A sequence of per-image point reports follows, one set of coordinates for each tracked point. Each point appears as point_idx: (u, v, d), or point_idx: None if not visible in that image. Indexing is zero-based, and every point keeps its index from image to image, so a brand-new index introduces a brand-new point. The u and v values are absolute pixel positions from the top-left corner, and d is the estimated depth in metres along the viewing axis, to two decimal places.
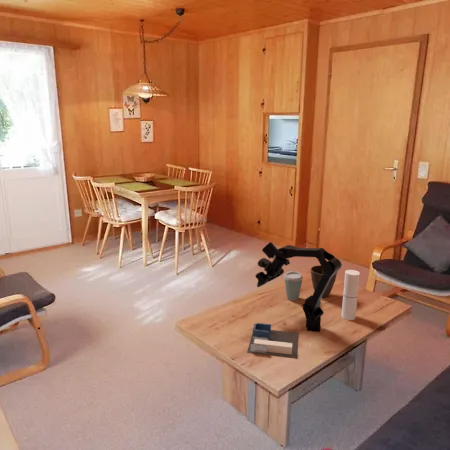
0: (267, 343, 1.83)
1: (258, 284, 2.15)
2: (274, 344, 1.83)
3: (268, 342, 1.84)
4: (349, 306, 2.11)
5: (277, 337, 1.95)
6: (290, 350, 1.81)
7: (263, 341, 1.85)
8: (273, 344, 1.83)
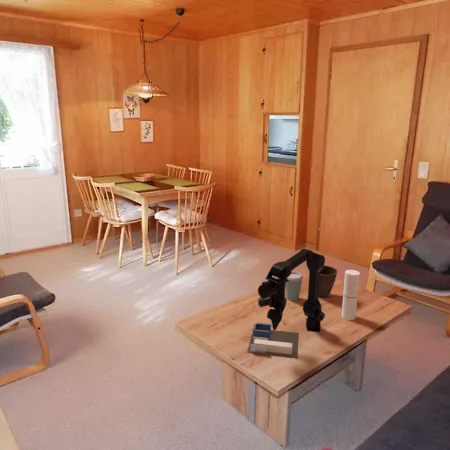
0: (267, 343, 1.83)
1: (274, 326, 1.77)
2: (274, 344, 1.83)
3: (268, 342, 1.84)
4: (349, 306, 2.11)
5: (277, 337, 1.95)
6: (290, 350, 1.81)
7: (263, 341, 1.85)
8: (273, 344, 1.83)
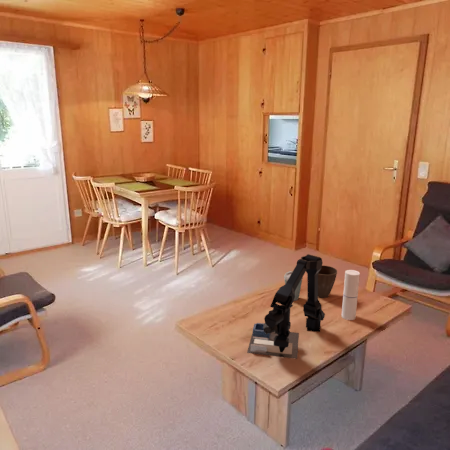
0: (267, 343, 1.83)
1: (281, 349, 1.81)
2: None
3: (268, 342, 1.84)
4: (349, 306, 2.11)
5: None
6: (290, 350, 1.81)
7: (263, 341, 1.85)
8: (273, 344, 1.83)
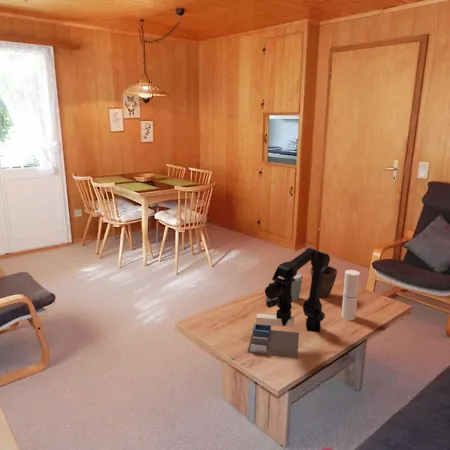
0: (270, 317, 1.86)
1: (283, 322, 1.84)
2: (276, 318, 1.86)
3: (270, 316, 1.87)
4: (349, 306, 2.11)
5: (277, 337, 1.95)
6: (292, 323, 1.84)
7: (265, 315, 1.88)
8: (275, 318, 1.86)
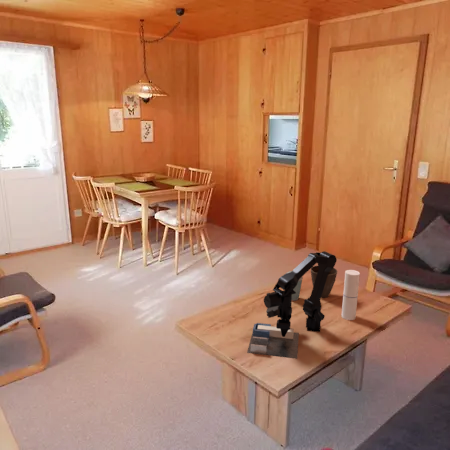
0: (270, 328, 1.96)
1: (283, 333, 1.91)
2: (276, 329, 1.95)
3: (271, 328, 1.96)
4: (349, 306, 2.11)
5: (277, 337, 1.95)
6: (291, 334, 1.93)
7: (266, 327, 1.97)
8: (275, 329, 1.95)
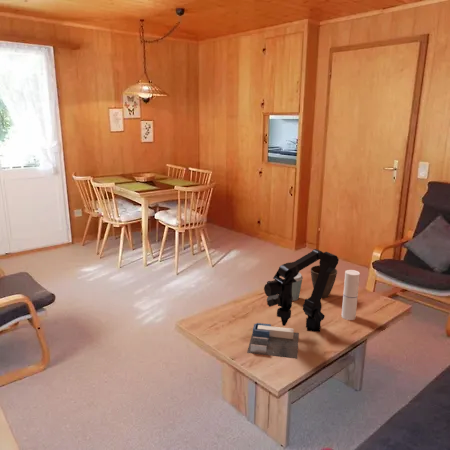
0: (270, 328, 1.96)
1: (283, 322, 1.90)
2: (276, 329, 1.95)
3: (271, 328, 1.96)
4: (349, 306, 2.11)
5: (277, 337, 1.95)
6: (291, 334, 1.93)
7: (266, 327, 1.97)
8: (275, 329, 1.95)
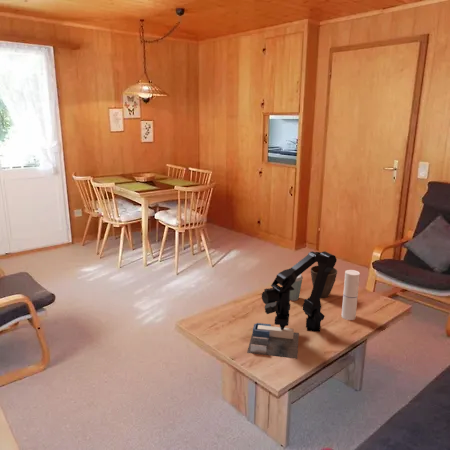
0: (270, 328, 1.96)
1: (281, 326, 1.94)
2: (276, 329, 1.95)
3: (271, 328, 1.96)
4: (349, 306, 2.11)
5: (277, 337, 1.95)
6: (291, 334, 1.93)
7: (266, 327, 1.97)
8: (275, 329, 1.95)
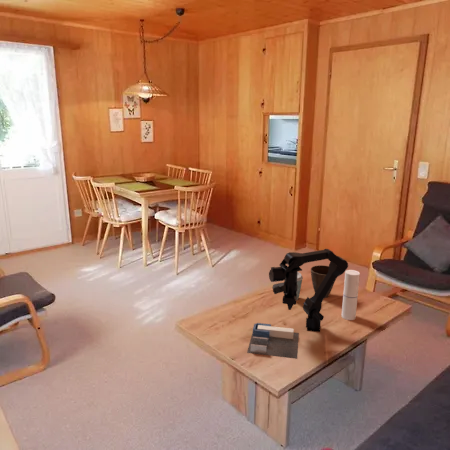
0: (270, 328, 1.96)
1: (289, 306, 1.96)
2: (276, 329, 1.95)
3: (271, 328, 1.96)
4: (349, 306, 2.11)
5: (277, 337, 1.95)
6: (291, 334, 1.93)
7: (266, 327, 1.97)
8: (275, 329, 1.95)
